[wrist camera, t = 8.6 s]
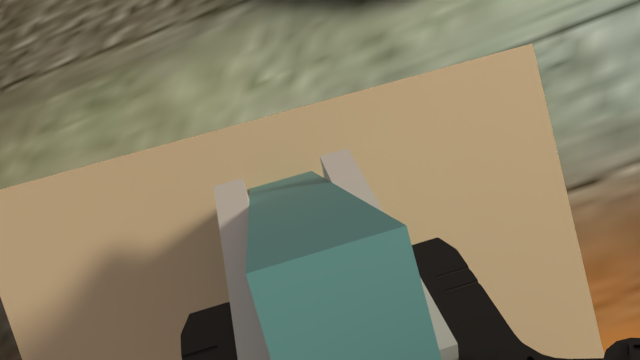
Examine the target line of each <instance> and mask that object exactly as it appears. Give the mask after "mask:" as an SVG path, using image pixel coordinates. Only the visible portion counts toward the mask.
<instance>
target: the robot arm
mask: <svg viewBox="0 0 640 360" xmlns="http://www.w3.org/2000/svg"><path fill="white" fill-rule="evenodd" d="M320 160H321V165H322V170H323V174H324V178H325V179H327V180H328V181H330V182H332V183H334V184H335V185H337V186H339V187H340V188H342V189H344V190H346V191H347V192H349V193H351V194H353V195H354V196H356V197H358V198H360V199H361V200H363V201H365V202H367V203H368V204H370V205H372V206H373V207H375V208H377V209H379V210H380V211H382V212H383V210H382V208H381V206H380V204H379V203H378V201H377V199H376V197H375V196H374V194H373V192H372V190H371V188H370V187H369V185H368V183H367V181H366V180H365V178H364V176H363V174H362V172H361V171H360V169H359V167H358V165H357V163H356V162H355V160H354V158H353V156H352V155H351V153H350V151H349V149H348V148H347V149H344V150H340V151H337V152H333V153H330V154H326V155H322V156H320ZM213 187H214V194H215V201H216V208H217V216H218V223H219V230H220V237H221V244H222V251H223V258H224V265H225V272H226V280H227V287H228V294H229V301H230V302H226V303H223V304H220V305H217V306H213V307H210V308H207V309H203V310H200V311H197V312H193V313H190V314H189V316H188V318H187V321H186V323H185V325H184V328H183V330H182V333H181V335H180V336H181V357H182V360H271V358H270V354H269V351H268V348H267V344H266V341H265V337H264V334H263V331H262V327H261V324H260V321H259V317H258V314H257V311H256V307H255V304H254V300H253V297H252V294H251V290H250V287H249V284H248V280H247V277H246V255H247V235H248V215H249V196H248V193H247V190H246V187H245V184H244V180H243V178H241V179H237V180H234V181H230V182H227V183H223V184H220V185H216V186H213ZM412 248H413V252H414V256H415V260H416V263H417V267H418V271H419V275H420V279H421V282H422V286H423V290H424V294H425V298H426V301H427V305H428V309H429V313H430V317H431V321H432V324H433V328H434V332H435V336H436V340H437V343H438V347H439V351H440V355H441V359H442V360H640V338H628V339H624V340H620V341H617V342H615V343H614V344H613V345H612V346H610V347H609V348H608V349H607V350H606V352H605V355H604V358H590V359H564V358H554V357H550V356H547V355H543V354H541V353H539V352H537V351H536V350H534V349H532V348H531V347H529V346H527V345H525V344H524V343H522V342H521V341H520V340H519V338H518V337H517V336H516V335H515V334H514V332H513V331H512V329H511V328H510V327H509V325H508V324H507V322H506V321H505V319H504V318H503V316H502V315H501V313H500V312H499V310H498V309H497V307H496V306H495V305H494V303H493V302H492V300H491V299H490V297H489V296H488V294H487V293H486V291H485V290H484V288H483V287H482V285H481V284H479V283H478V280H477V278H476V277H475V275H474V274H473V272H472V271H471V269H470V270H469V267H468V265H467V263H466V262H465V261H464V259H463V258H462V256H461V255H460V253H459V252H458V250H457V249H456V248H454V247H452V246H451V245H449V244H448V243H446V242H445V241H443V240H442V239H440V238H438V237H437V238H434V239H430V240H427V241H424V242H420V243H417V244H414V245H412Z"/></svg>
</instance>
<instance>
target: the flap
mask: <svg viewBox="0 0 640 360" xmlns="http://www.w3.org/2000/svg"><path fill="white" fill-rule="evenodd" d="M347 148H348V149H349V151H350V153H351V155H352V156H353V158H354V160H355V162H356V163H357V165H358V167H359V169H360V171H361V172H362V174H363V176H364V178H365V180H366V181H367V183H368V185H369V187H370V188H371V190H372V192H373V194H374V196H375V197H376V199H377V201H378V203H379V204H380V206H381V208H382V210H383V212H382V211H380V210H379V209H377V208H375V207H373V206H372V205H370V204H368V203H367V202H365V201H363V200H361V199H360V198H358V197H356V196H354V195H353V194H351V193H349V192H347V191H346V190H344V189H342V188H340V187H339V186H337V185H335V184H334V183H332V182H330V181H328V180H327V179H325V178H324V174H323V170H322V165H321V160H320V156H322V155H326V154H330V153H333V152H337V151H340V150H344V149H347ZM241 178H243V180H244V184H245V187H246V190H247V193H248V196H249V215H248V235H247V255H246V277H247V280H248V284H249V287H250V290H251V294H252V297H253V300H254V304H255V307H256V311H257V314H258V317H259V321H260V324H261V327H262V331H263V334H264V337H265V341H266V344H267V348H268V351H269V354H270V358H271V360H442V359H441V355H440V351H439V347H438V343H437V340H436V336H435V332H434V328H433V324H432V321H431V317H430V313H429V309H428V305H427V301H426V298H425V294H424V290H423V286H422V282H421V279H420V275H419V271H418V267H417V263H416V260H415V256H414V252H413V248H412V245H414V244H417V243H420V242H424V241H427V240H430V239H434V238H437V237H438V238H440V239H442V240H443V241H445V242H446V243H448V244H449V245H451V246H452V247H454V248H456V249H457V250H458V252H459V253H460V255H461V256H462V258H463V259H464V261H465V262H466V263H467V265H468V267H469V270H470V269H471V271H472V272H473V274H474V275H475V277H476V278H477V280H478V283H479V284H481V285H482V287H483V288H484V290H485V291H486V293H487V294H488V296H489V297H490V299H491V300H492V302H493V303H494V305H495V306H496V307H497V309H498V310H499V312H500V313H501V315H502V316H503V318H504V319H505V321H506V322H507V324H508V325H509V327H510V328H511V329H512V331H513V332H514V334H515V335H516V336H517V337H518V338H519V340H520V341H521V342H522V343H524V344H525V345H527V346H529V347H531V348H532V349H534V350H536V351H537V352H539V353H541V354H543V355H547V356H550V357H554V358H564V359H590V358H604V352H603V348H602V344H601V339H600V335H599V331H598V326H597V322H596V317H595V313H594V309H593V304H592V300H591V296H590V291H589V287H588V283H587V278H586V274H585V270H584V265H583V261H582V257H581V252H580V248H579V244H578V239H577V235H576V231H575V226H574V222H573V218H572V213H571V209H570V204H569V200H568V196H567V191H566V187H565V183H564V178H563V174H562V170H561V165H560V161H559V157H558V152H557V148H556V144H555V139H554V135H553V131H552V126H551V122H550V118H549V113H548V109H547V104H546V100H545V96H544V91H543V87H542V83H541V78H540V74H539V70H538V65H537V61H536V57H535V52H534V48H533V44H529V45H525V46H521V47H518V48H514V49H510V50H507V51H503V52H499V53H496V54H492V55H488V56H485V57H481V58H478V59H474V60H470V61H467V62H463V63H459V64H456V65H452V66H448V67H445V68H441V69H438V70H434V71H430V72H427V73H423V74H419V75H416V76H412V77H408V78H405V79H401V80H397V81H394V82H390V83H387V84H383V85H379V86H376V87H372V88H368V89H365V90H361V91H357V92H354V93H350V94H347V95H343V96H339V97H336V98H332V99H328V100H325V101H321V102H317V103H314V104H310V105H306V106H303V107H299V108H296V109H292V110H288V111H285V112H281V113H277V114H274V115H270V116H266V117H263V118H259V119H256V120H252V121H248V122H245V123H241V124H237V125H234V126H230V127H226V128H223V129H219V130H215V131H212V132H208V133H205V134H201V135H197V136H194V137H190V138H186V139H183V140H179V141H175V142H172V143H168V144H165V145H161V146H157V147H154V148H150V149H146V150H143V151H139V152H135V153H132V154H128V155H124V156H121V157H117V158H114V159H110V160H106V161H103V162H99V163H95V164H92V165H88V166H84V167H81V168H77V169H73V170H70V171H66V172H63V173H59V174H55V175H52V176H48V177H44V178H41V179H37V180H33V181H30V182H26V183H23V184H19V185H15V186H12V187H8V188H4V189H1V190H0V297H1V300H2V303H3V306H4V309H5V312H6V314H7V317H8V320H9V323H10V326H11V329H12V332H13V335H14V337H15V340H16V343H17V346H18V349H19V352H20V355H21V358H22V360H182V357H181V336H180V335H181V333H182V330H183V328H184V325H185V323H186V321H187V318H188V316H189V314H190V313H193V312H197V311H200V310H203V309H207V308H210V307H213V306H217V305H220V304H223V303H226V302H230V301H229V294H228V287H227V280H226V272H225V265H224V258H223V251H222V244H221V237H220V230H219V223H218V216H217V208H216V201H215V194H214V187H213V186H216V185H220V184H223V183H227V182H230V181H234V180H237V179H241Z"/></svg>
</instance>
